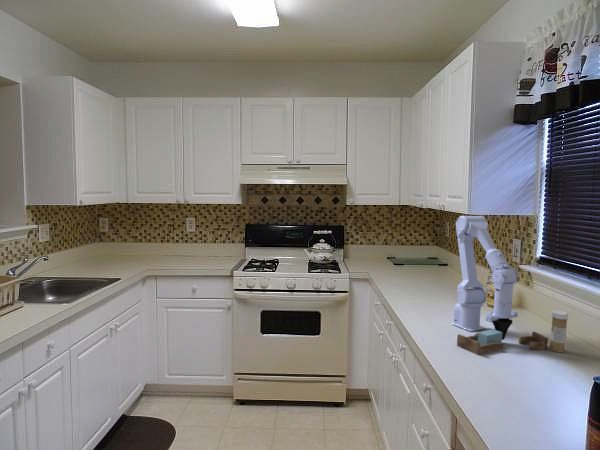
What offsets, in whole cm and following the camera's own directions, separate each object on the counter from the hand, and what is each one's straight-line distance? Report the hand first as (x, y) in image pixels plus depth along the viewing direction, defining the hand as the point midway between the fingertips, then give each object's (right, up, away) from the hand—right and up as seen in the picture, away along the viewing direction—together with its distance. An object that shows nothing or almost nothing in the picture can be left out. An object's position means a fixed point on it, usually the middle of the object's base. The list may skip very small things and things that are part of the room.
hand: (500, 338), depth 149 cm
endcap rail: (-11, -2, -5) cm, 12 cm away
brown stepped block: (+9, -2, -3) cm, 10 cm away
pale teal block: (-5, -2, -2) cm, 6 cm away
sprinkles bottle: (+17, -3, -6) cm, 18 cm away
